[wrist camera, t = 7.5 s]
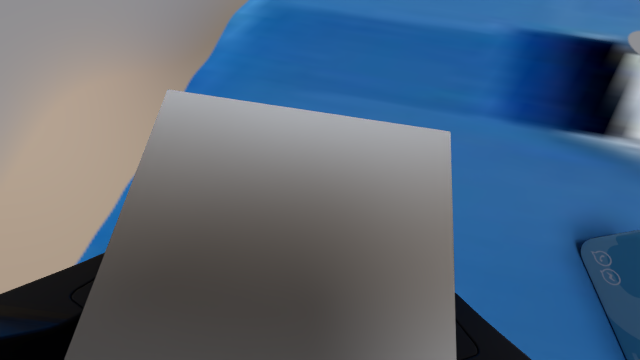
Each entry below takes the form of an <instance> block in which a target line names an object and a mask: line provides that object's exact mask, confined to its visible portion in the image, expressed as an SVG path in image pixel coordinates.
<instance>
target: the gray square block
mask: <svg viewBox="0 0 640 360" xmlns="http://www.w3.org/2000/svg"><path fill="white" fill-rule="evenodd" d="M64 360H457V359H456V323H455V286H454V249H453V213H452V176H451V140H450V132H449V131H442V130H435V129H429V128H422V127H415V126H409V125H402V124H395V123H389V122H382V121H375V120H368V119H362V118H355V117H348V116H342V115H335V114H328V113H322V112H315V111H308V110H302V109H295V108H288V107H281V106H275V105H268V104H261V103H255V102H248V101H241V100H235V99H228V98H221V97H214V96H208V95H201V94H194V93H188V92H181V91H174V90H167V93H166V95H165V98H164V101H163V103H162V106H161V109H160V111H159V114H158V116H157V119H156V121H155V124H154V127H153V129H152V132H151V135H150V137H149V140H148V142H147V145H146V148H145V150H144V153H143V155H142V158H141V161H140V163H139V166H138V168H137V171H136V174H135V176H134V179H133V181H132V184H131V187H130V189H129V192H128V194H127V197H126V200H125V202H124V205H123V207H122V210H121V213H120V215H119V218H118V221H117V223H116V226H115V228H114V231H113V234H112V236H111V239H110V241H109V244H108V247H107V249H106V252H105V254H104V257H103V260H102V262H101V265H100V267H99V270H98V273H97V275H96V278H95V280H94V283H93V286H92V288H91V291H90V294H89V296H88V299H87V301H86V304H85V307H84V309H83V312H82V314H81V317H80V320H79V322H78V325H77V327H76V330H75V333H74V335H73V338H72V340H71V343H70V346H69V348H68V351H67V353H66V356H65V359H64Z"/></svg>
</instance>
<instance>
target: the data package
mask: <svg viewBox="0 0 640 360" xmlns="http://www.w3.org/2000/svg"><path fill="white" fill-rule="evenodd" d="M581 257H582V260H583V262H584V264H585V266H586V269H587V271H588V273H589V275H590V278H591V280H592V282H593V284H594V287H595V289H596V291H597V293H598V296H599V298H600V300H601V302H602V305H603V307H604V309H605V311H606V314H607V316H608V318H609V320H610V323H611V325H612V327H613V330H614V332H615V334H616V336H617V339H618V341H619V343H620V345H621V348H622V350H623V352H624V354H625V357H626V359H627V360H640V230H637V231H630V232H625V233H619V234H614V235H608V236H603V237H598V238H592V239H589V240H587V241H586V242H584V243H583V245H582V247H581Z"/></svg>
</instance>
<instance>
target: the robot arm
mask: <svg viewBox="0 0 640 360" xmlns="http://www.w3.org/2000/svg"><path fill="white" fill-rule="evenodd" d="M104 254H105V253H103V254H100V255H98V256H96V257H94V258H91V259H89V260H87V261H84V262H82V263H79V264H77V265H74V266H72V267H69V268H67V269H64V270H62V271H59V272H57V273H54V274H51V275H49V276H46V277H44V278H41V279H38V280H36V281H33V282H31V283H28V284H25V285H23V286H21V287H18V288H15V289H13V290H10V291H8V292H5V293H2V294H0V360H64V359H65V356H66V353H67V351H68V348H69V346H70V343H71V340H72V338H73V335H74V333H75V330H76V327H77V325H78V322H79V320H80V317H81V314H82V312H83V309H84V307H85V304H86V301H87V299H88V296H89V294H90V291H91V288H92V286H93V283H94V280H95V278H96V275H97V273H98V270H99V267H100V265H101V262H102V260H103V257H104ZM455 323H456V359H457V360H531V359H530V358H529V357H528V356H527V355H525V354H524V353H523V352H522V351H521V350H519V349H518V348H517V347H516V346H515V345H514V344H512V343H511V342H510V341H509V340H508V339H506V338H505V337H504V336H503V335H502V334H501V333H499V332H498V331H497V330H496V329H495V328H494V327H492V326H491V325H490V324H489V323H488V322H487V321H486V320H484V319H483V318H482V317H481V316H480V315H479V314H478V313H477V312H476V311H474V310H473V309H472V308H471V307H470V306H469V305H468V304H467V303H466V302H465V301H464V300H463V299H462V298H461V297H460V296H459V295H458V294H456V293H455Z"/></svg>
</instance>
